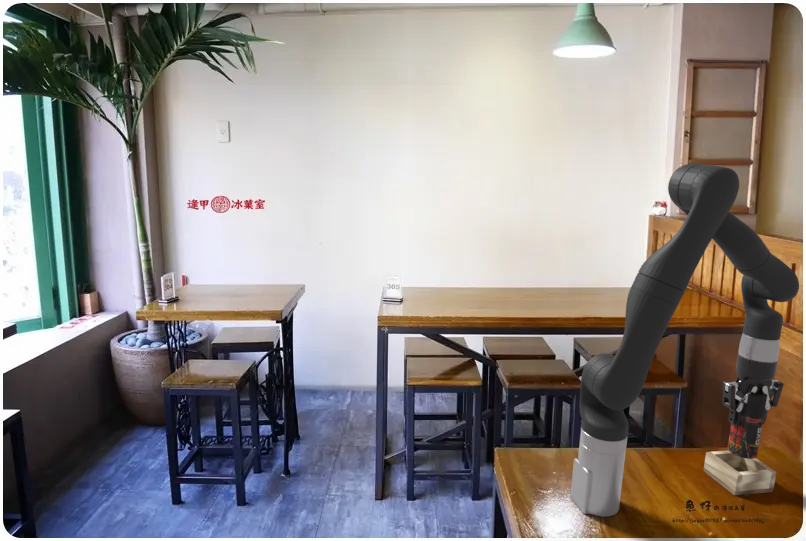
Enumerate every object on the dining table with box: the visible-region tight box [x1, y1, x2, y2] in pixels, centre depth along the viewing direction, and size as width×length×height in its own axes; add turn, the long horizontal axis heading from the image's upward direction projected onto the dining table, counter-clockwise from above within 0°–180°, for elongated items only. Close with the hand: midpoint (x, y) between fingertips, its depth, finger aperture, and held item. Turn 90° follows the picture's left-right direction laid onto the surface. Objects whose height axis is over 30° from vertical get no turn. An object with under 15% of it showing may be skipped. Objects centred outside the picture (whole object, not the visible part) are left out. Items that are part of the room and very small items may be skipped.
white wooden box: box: [702, 449, 777, 496], centre depth 129 cm, size 10×10×5 cm
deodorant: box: [727, 390, 767, 459], centre depth 126 cm, size 6×6×15 cm
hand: (746, 423), depth 126 cm, fingers closed on deodorant, 6 cm apart
